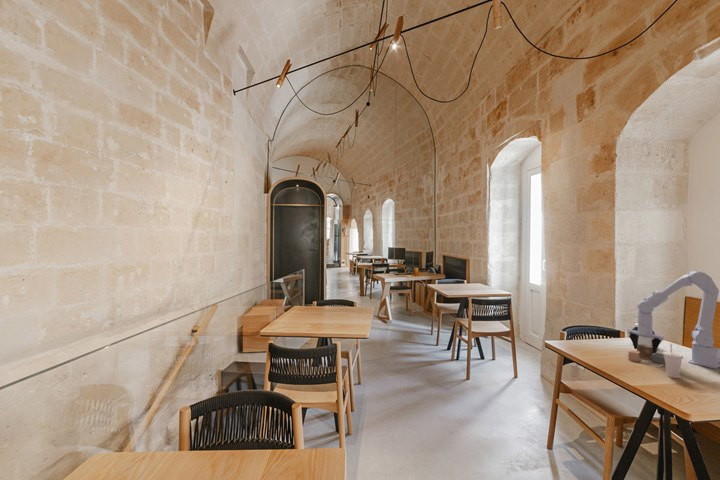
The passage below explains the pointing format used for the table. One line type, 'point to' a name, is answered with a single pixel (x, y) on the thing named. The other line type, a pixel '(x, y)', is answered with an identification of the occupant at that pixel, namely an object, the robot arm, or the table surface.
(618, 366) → the table surface
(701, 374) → the table surface
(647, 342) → the spread jar
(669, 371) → the smoothie
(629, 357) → the terracotta cube
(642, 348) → the walnut cube
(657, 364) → the swatch
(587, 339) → the table surface
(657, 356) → the plinth
